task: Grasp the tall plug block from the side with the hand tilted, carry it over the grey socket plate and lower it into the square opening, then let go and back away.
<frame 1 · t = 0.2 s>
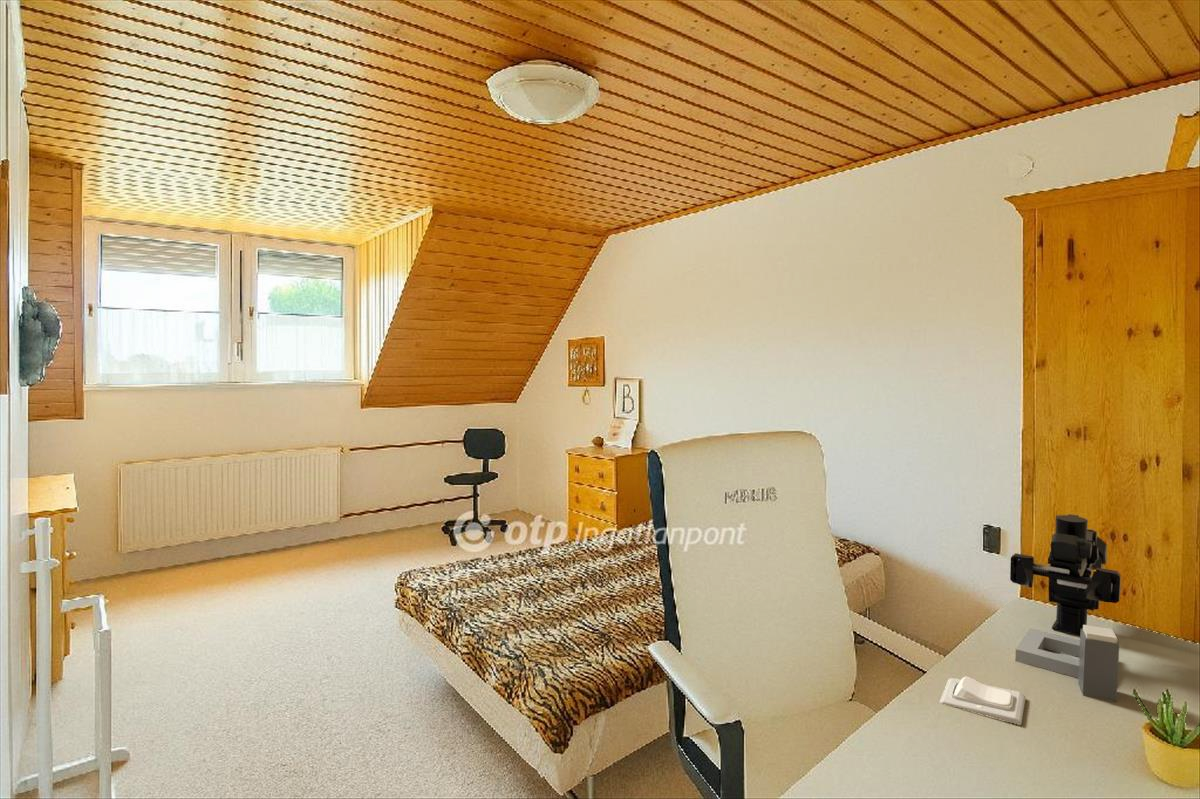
hand: (1056, 590, 128), 17 cm above the table, tool horizontal, fingers open, 9 cm apart
light switch: (982, 705, 118), on the table
socket plate: (1061, 659, 133), on the table
plug: (1096, 692, 121), on the table
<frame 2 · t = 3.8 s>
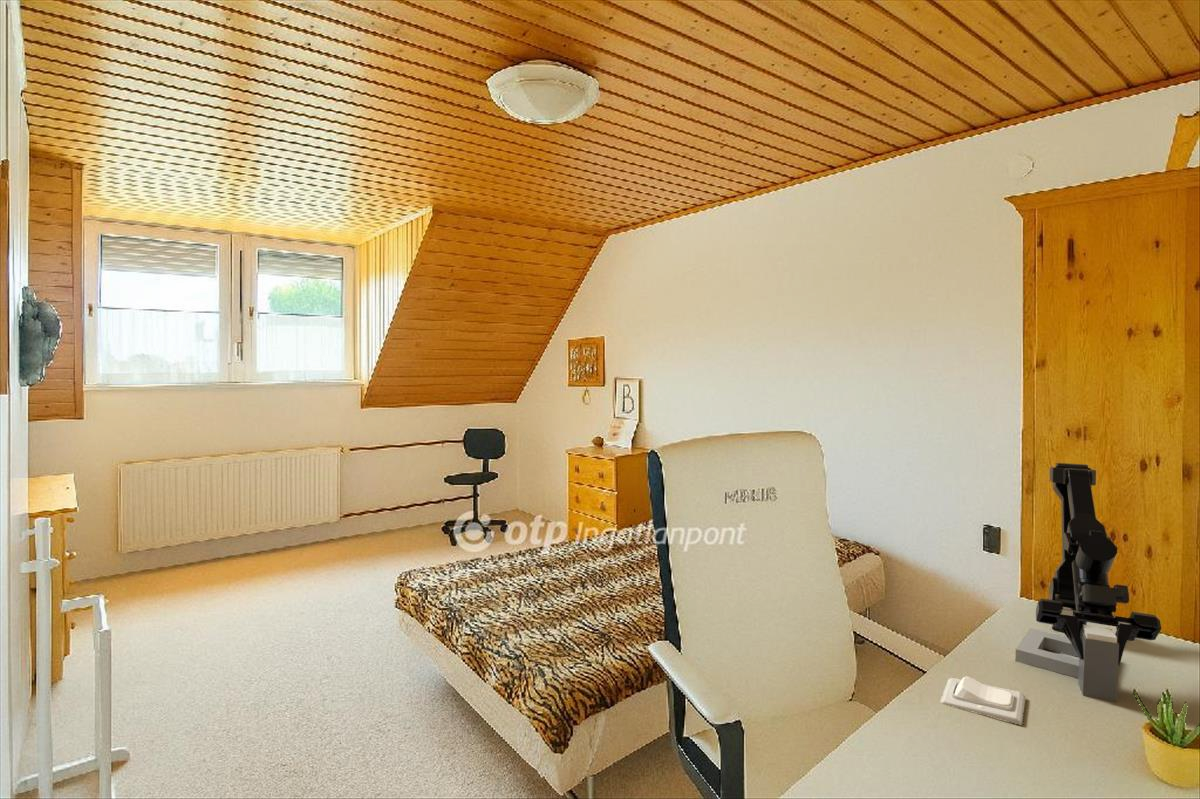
hand: (1099, 661, 119), 7 cm above the table, tool tilted 45°, fingers closed on plug, 5 cm apart
plug: (1096, 692, 121), on the table, touching gripper
everything else where it was.
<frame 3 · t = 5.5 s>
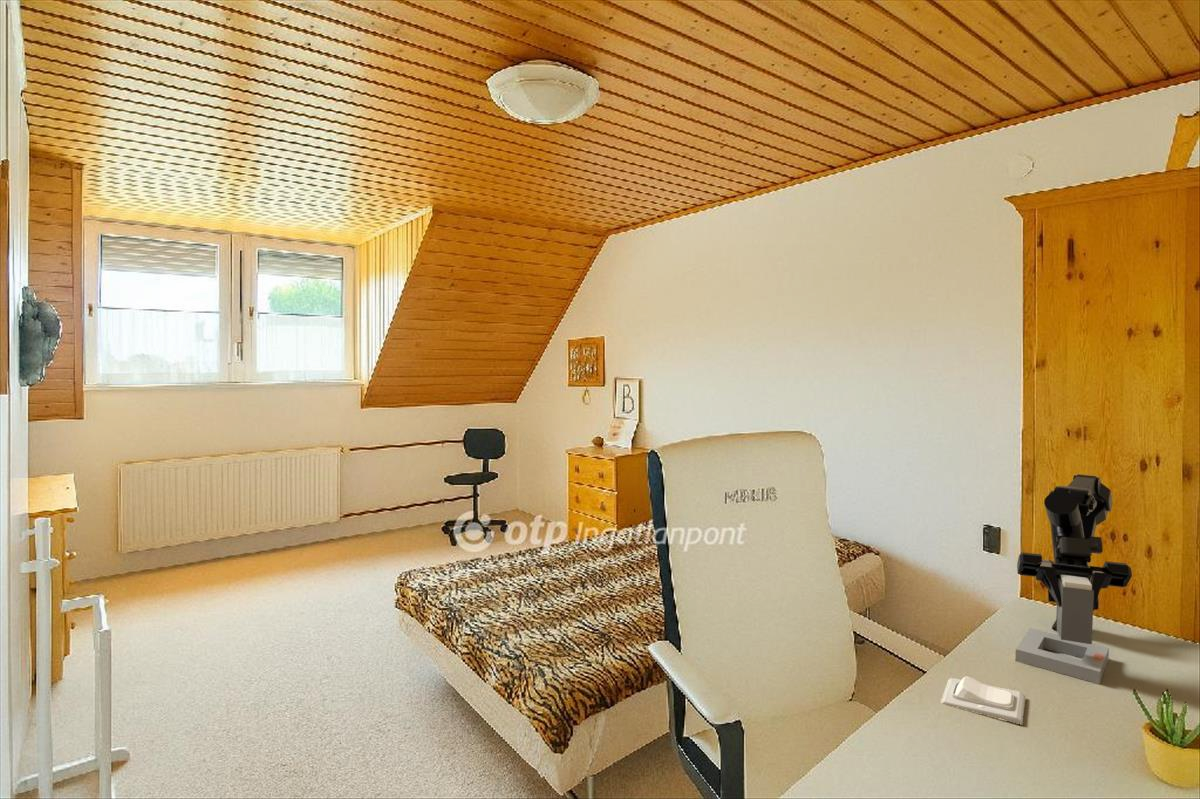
hand: (1076, 608, 128), 13 cm above the table, tool tilted 45°, fingers closed on plug, 5 cm apart
plug: (1073, 636, 130), point 6 cm above the table, touching gripper
everything else where it was.
when the fingers open (8 cm above the table, at t = 7.4 s): plug drops 1 cm, resting in socket plate.
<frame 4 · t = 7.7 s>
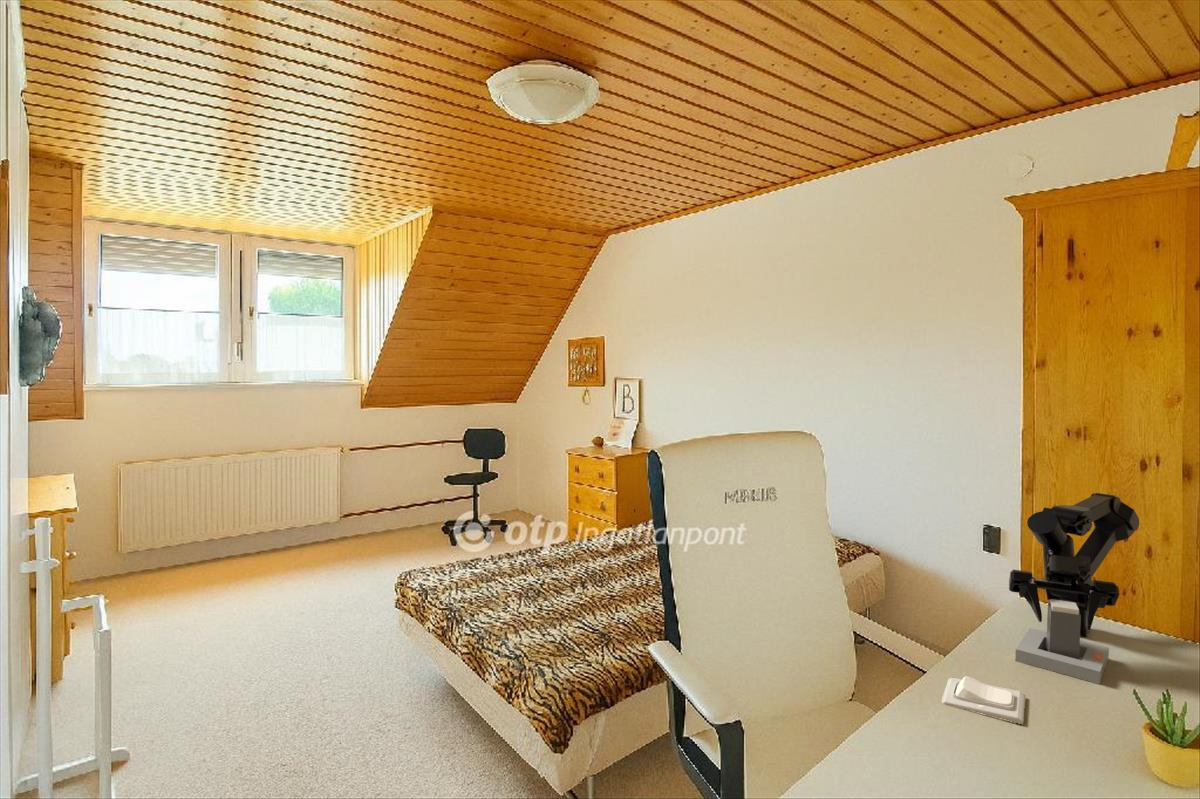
hand: (1064, 625, 132), 8 cm above the table, tool tilted 45°, fingers open, 8 cm apart
plug: (1061, 659, 133), resting in socket plate
everything else where it was.
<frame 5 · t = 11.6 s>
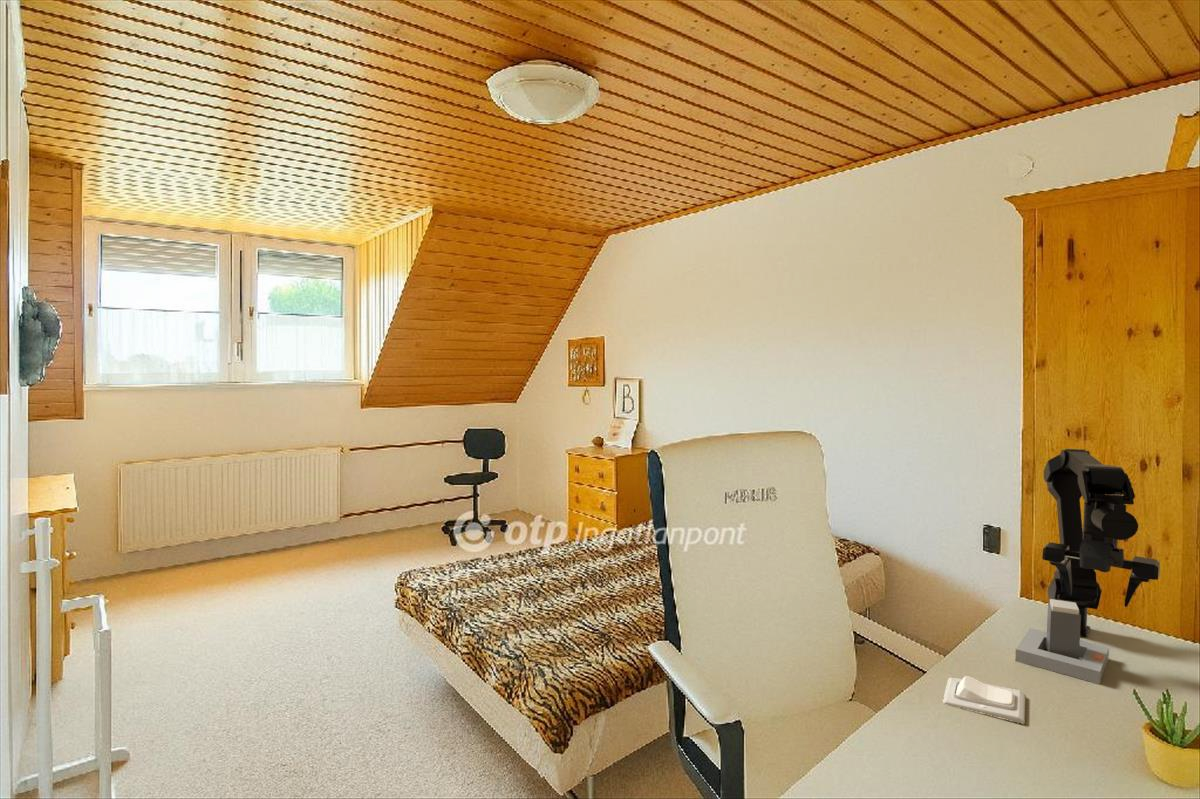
hand: (1097, 600, 132), 13 cm above the table, tool pointing down, fingers open, 9 cm apart
nothing on the table moved.
at the end: plug 0.0 cm off-centre on the socket plate, point 0.0 cm above the socket plate's base; plug tilted 0°; the gripper is holding nothing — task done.
